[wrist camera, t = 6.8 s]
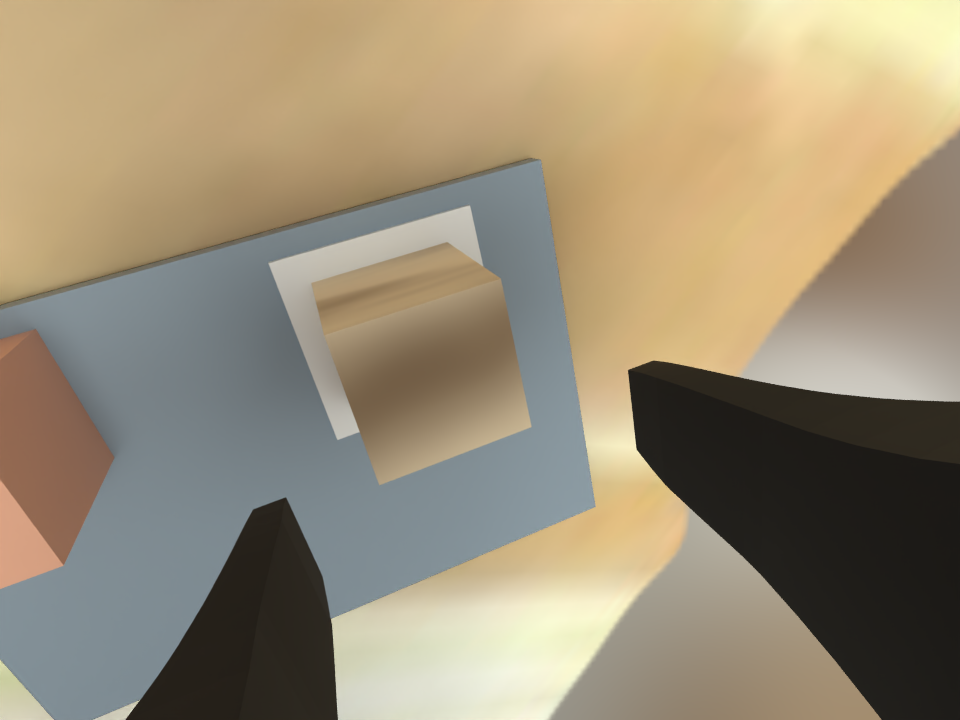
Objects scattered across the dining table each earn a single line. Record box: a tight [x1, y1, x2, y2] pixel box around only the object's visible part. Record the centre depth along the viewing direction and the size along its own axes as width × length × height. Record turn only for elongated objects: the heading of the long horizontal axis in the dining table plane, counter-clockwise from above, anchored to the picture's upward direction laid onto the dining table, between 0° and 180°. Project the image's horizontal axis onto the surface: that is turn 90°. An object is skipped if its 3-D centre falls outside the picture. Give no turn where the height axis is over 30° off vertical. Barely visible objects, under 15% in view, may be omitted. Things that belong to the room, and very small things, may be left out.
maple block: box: [311, 242, 531, 485], centre depth 17 cm, size 4×4×5 cm
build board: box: [0, 158, 596, 720], centre depth 20 cm, size 15×22×1 cm
